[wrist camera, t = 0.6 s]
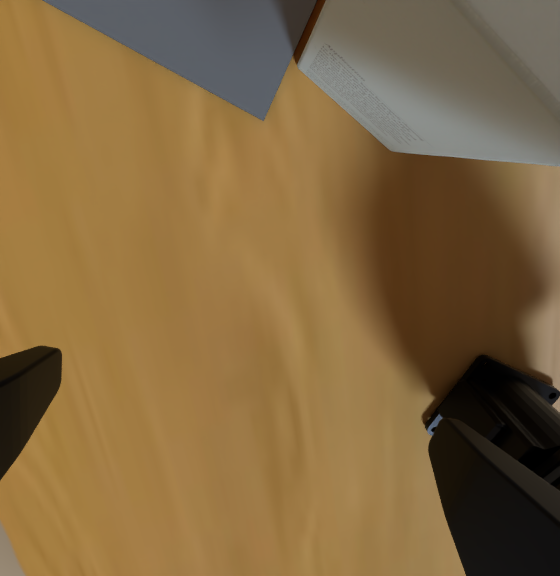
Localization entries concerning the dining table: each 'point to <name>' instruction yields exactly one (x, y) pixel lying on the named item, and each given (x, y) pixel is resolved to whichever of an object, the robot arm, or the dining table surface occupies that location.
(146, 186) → the dining table surface
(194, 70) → the mat
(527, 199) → the dining table surface
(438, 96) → the small box
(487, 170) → the dining table surface
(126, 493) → the dining table surface
